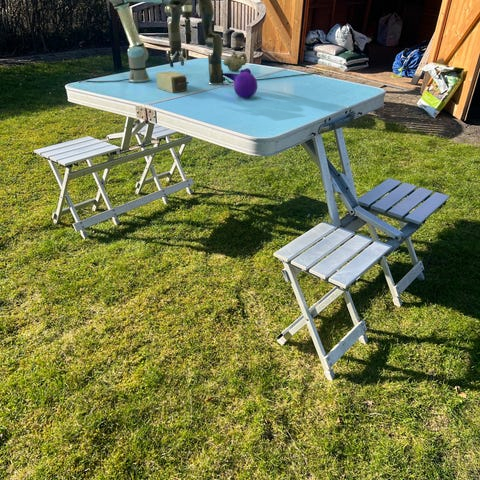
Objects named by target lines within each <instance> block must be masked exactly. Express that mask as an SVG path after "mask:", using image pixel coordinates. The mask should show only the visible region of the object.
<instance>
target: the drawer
mask: <svg viewBox="0 0 480 480" xmlns="http://www.w3.org/2000/svg"><path fill="white" fill-rule="evenodd" d="M172 79H173V90H174V91H175V92H174V93H177V92H176V91H180V92H182V91H181V90H185V91H187V90H188V85H189V83H190V82H189V81H188V80H187V76H185V77H178V78H172Z"/></svg>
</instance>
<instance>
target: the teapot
mask: <svg viewBox="0 0 480 480" xmlns="http://www.w3.org/2000/svg"><path fill="white" fill-rule="evenodd" d="M242 58H243V60H241V59H242ZM247 61H248V59H247V54H246V53H244V52H243V53H240V54H239V55H238V54H237V53H236V51H232V54H231V55H230V57H226V58H225V59H224V60H223V64H222V65H224V66H225V67H227V69H228V71H229V72H231V73H233V72H238V71H240V70H241V69H242V67H243V66H245V65H246V64H247Z"/></svg>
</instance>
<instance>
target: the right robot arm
mask: <svg viewBox="0 0 480 480" xmlns="http://www.w3.org/2000/svg"><path fill="white" fill-rule="evenodd" d="M187 1H188V0H171V1H170V2H169V3H166V5H165V7H164V15H165V16H167V17H168V18H171V19H170V21H169V22H168V23H167V25H168V26H167V27H168V42H169V49H170V50H166V51H165V53H166V54H165V55H166V56H165V57H166V61H168V62H169V67H170V68H174V59H175V58H177V57H179V58H180V66H181V67H183V66H184V65H185V59H187V52H186V48H184V47H183V48H182V38H181V37H182V36H181V28H180V23H181V16H182V9H181V8H182V7H183V6H184V5H185V3H186V2H187ZM196 1H197V5H198V10H199V14H200V19H201V24H202V30H203V38H204V43H205V44H204V45H205V46H206V47H207V48H209V49H212V52H211V53H208V55H207V57H208V58H207V59H208V60H207V61H208V81H209V85H211V86H219V85H223V84H224V82H226V81H227V82H228V83H229V84H232V83H233V84H234V81H229V80H230V79H229V78H226V76H224V75H222V73H224V70H223V67H222V66H223V64H222V55H223V38H222V36H221V34H219V33H213V29H212V22H213V19H214V14H215V11H214V6H213V2H212V0H196ZM316 74H321V75H324V73H323V72H322V71H317V72H310V73H300V74H292V75H284V76H275V77H267V78H266V77H265V78H256V80H257V81H266V80H273V79H274V80H275V79H282V78H289V77H299V76H307V75H309V76H310V75H316Z"/></svg>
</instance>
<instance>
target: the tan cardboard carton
mask: <svg viewBox="0 0 480 480" xmlns="http://www.w3.org/2000/svg"><path fill="white" fill-rule="evenodd" d="M178 77H186V74H184V73H183V74H182V73H179V72H176V71H172V70H169V71H161V72H156V81H157V89H160V90H163V91H167V92H169V93H179V92H184V91H186V90H181V91H176V92H175V91H174V90H173V79H172V78H178Z"/></svg>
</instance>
